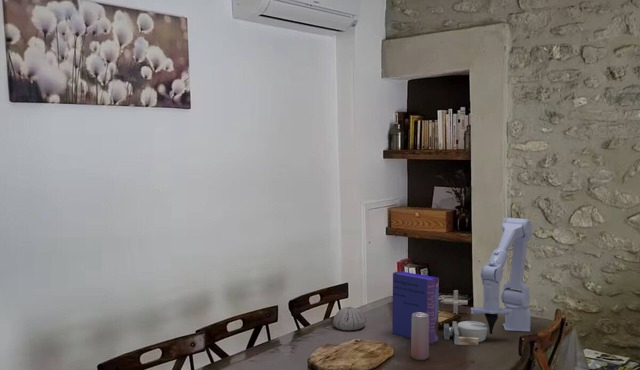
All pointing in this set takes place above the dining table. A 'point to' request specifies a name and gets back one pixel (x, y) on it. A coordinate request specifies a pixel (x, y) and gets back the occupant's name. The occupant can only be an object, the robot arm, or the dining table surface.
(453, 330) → the grey h-shaped piece
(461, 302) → the pipe connector
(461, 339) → the pair of beige bars
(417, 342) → the beverage can
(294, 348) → the dining table surface
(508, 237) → the robot arm
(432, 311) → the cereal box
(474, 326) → the ramekin
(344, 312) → the sea urchin shell
